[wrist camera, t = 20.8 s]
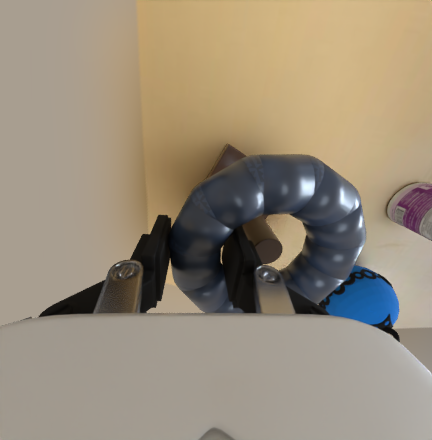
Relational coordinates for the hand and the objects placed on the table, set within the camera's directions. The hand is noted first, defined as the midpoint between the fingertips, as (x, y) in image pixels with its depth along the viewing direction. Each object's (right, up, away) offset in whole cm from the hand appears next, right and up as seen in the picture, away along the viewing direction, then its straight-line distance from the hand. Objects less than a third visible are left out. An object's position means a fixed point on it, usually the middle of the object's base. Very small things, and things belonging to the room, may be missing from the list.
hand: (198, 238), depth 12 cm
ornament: (+19, -7, +16) cm, 26 cm away
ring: (+4, -1, 0) cm, 4 cm away
